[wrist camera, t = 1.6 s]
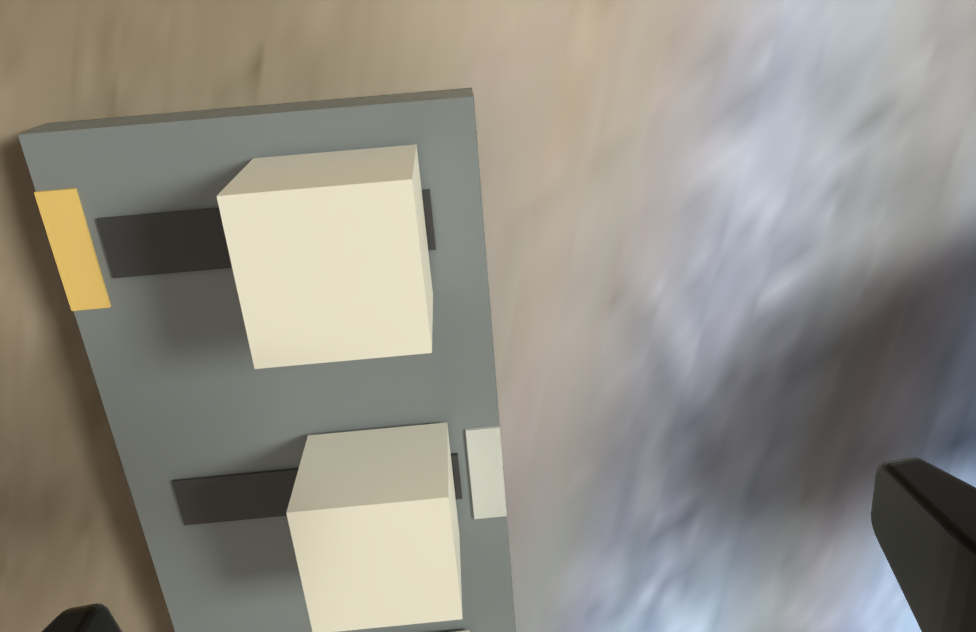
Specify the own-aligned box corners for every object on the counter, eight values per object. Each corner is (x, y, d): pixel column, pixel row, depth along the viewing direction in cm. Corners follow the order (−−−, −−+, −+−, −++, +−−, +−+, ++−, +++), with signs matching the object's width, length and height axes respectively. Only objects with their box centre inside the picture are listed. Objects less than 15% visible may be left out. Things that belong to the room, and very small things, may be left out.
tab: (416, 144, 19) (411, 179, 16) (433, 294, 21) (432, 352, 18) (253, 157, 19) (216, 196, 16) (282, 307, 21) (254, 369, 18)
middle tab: (446, 422, 23) (448, 497, 19) (459, 533, 24) (462, 619, 21) (308, 435, 22) (286, 512, 19) (329, 545, 24) (313, 634, 21)
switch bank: (471, 87, 20) (473, 97, 19) (519, 690, 29) (523, 728, 28) (46, 123, 20) (15, 135, 19) (225, 720, 29) (214, 760, 28)
